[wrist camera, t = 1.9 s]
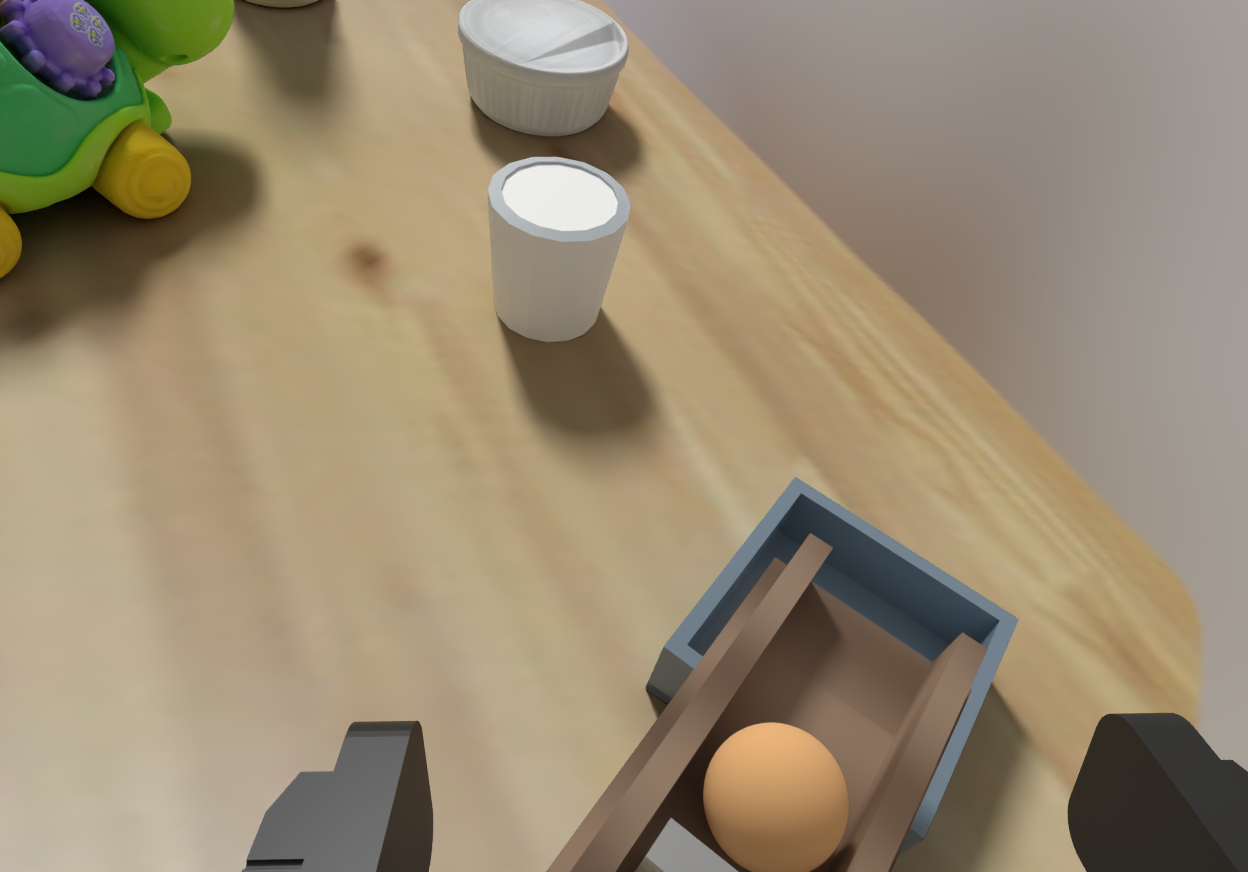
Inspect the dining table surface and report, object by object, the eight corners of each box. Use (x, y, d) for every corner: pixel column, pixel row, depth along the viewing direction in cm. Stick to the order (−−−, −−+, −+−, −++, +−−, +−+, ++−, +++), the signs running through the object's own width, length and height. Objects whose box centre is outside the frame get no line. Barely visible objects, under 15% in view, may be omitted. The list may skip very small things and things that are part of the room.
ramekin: (608, 161, 56) (621, 86, 52) (439, 128, 55) (439, 48, 51) (623, 81, 63) (636, 9, 59) (474, 50, 62) (477, -25, 58)
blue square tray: (881, 866, 30) (924, 838, 27) (645, 687, 32) (663, 646, 30) (976, 658, 36) (1018, 619, 33) (771, 523, 38) (795, 476, 36)
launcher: (704, 1110, 24) (822, 1091, 17) (517, 941, 26) (549, 856, 19) (870, 777, 32) (1005, 660, 24) (715, 664, 33) (794, 522, 26)
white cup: (635, 312, 46) (660, 204, 41) (548, 370, 42) (563, 259, 37) (544, 248, 49) (557, 139, 43) (454, 298, 45) (456, 184, 39)
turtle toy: (330, 163, 51) (307, -47, 42) (-106, 341, 37) (-276, 87, 28) (161, 44, 56) (110, -164, 47) (-274, 162, 42) (-462, -99, 33)
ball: (729, 918, 20) (772, 883, 18) (666, 779, 22) (697, 729, 20) (845, 859, 22) (901, 818, 19) (776, 733, 24) (819, 680, 21)
